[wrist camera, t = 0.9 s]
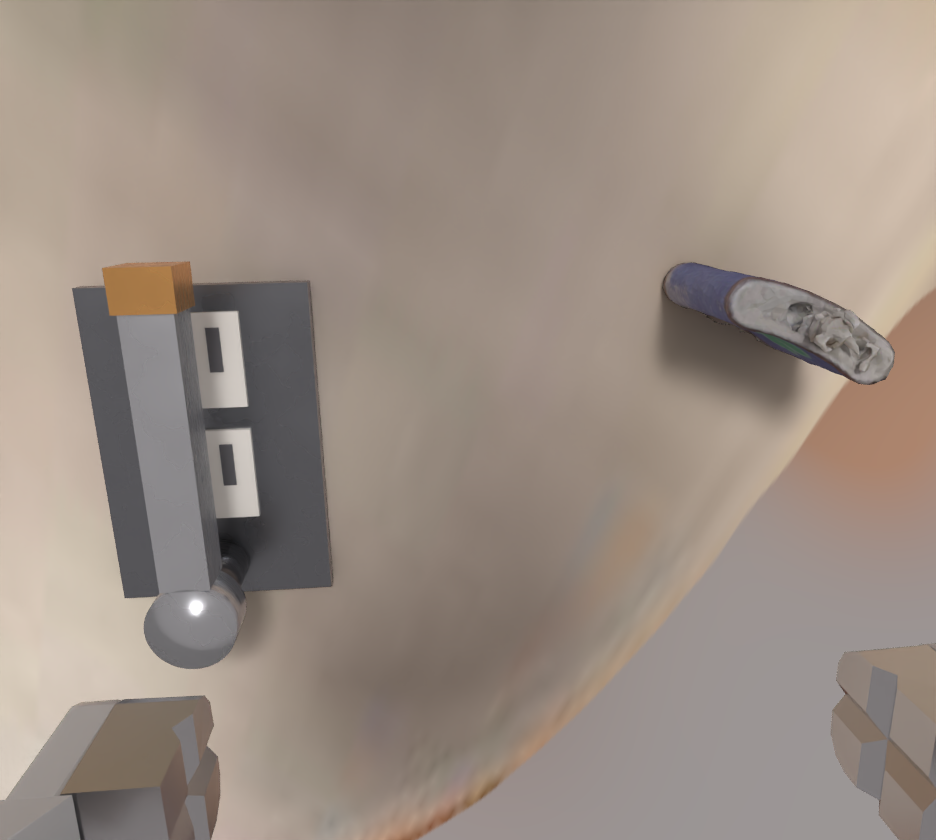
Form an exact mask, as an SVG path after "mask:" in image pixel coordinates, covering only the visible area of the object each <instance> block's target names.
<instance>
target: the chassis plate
mask: <svg viewBox="0 0 936 840" xmlns="http://www.w3.org/2000/svg"><path fill="white" fill-rule="evenodd" d="M72 290H73V296H74V302H75V308H76V314H77V320H78V326H79V331H80V337H81V343H82V349H83V355H84V361H85V367H86V373H87V379H88V384H89V390H90V396H91V402H92V408H93V414H94V420H95V426H96V431H97V437H98V443H99V449H100V455H101V461H102V467H103V473H104V478H105V484H106V490H107V496H108V502H109V508H110V514H111V520H112V525H113V531H114V537H115V543H116V549H117V555H118V561H119V567H120V573H121V578H122V584H123V590H124V596H125V598H136V597H153V596H158V595H159V588H158V581H157V575H156V568H155V562H154V555H153V549H152V542H151V536H150V530H149V523H148V517H147V510H146V504H145V497H144V491H143V484H142V478H141V471H140V465H139V458H138V452H137V445H136V439H135V433H134V426H133V420H132V413H131V407H130V400H129V394H128V387H127V381H126V374H125V368H124V361H123V355H122V349H121V342H120V336H119V329H118V323H117V316H110V315H109V308H108V302H107V296H106V289H105V286H81V287H76V288H72ZM193 292H194V300H195V306H193V307H191V308H190V312H217V311H239V319H240V328H241V337H242V347H243V356H244V365H245V375H246V384H247V393H248V403H249V406H248V407H228V408H202V409H203V417H204V425H205V430H211V429H236V428H251V431H252V440H253V449H254V459H255V468H256V478H257V487H258V496H259V506H260V516H253V517H233V518H216V520H217V528H218V536H219V540H230V541H233V542H236V543H238V544H239V545H241V546H242V547H243V548H244V549H245V550H246V552H247V553H248V556H249V559H250V566H249V569H248V572H247V574H246V576H245V579H244V581H243V583H242V586H241V588H242V590H243V591H259V590H277V589H294V588H312V587H329V586H331V585H332V580H333V574H332V561H331V548H330V535H329V523H328V510H327V497H326V485H325V472H324V459H323V446H322V434H321V421H320V408H319V395H318V383H317V370H316V357H315V345H314V332H313V319H312V306H311V294H310V281H274V282H235V283H196V284H193Z"/></svg>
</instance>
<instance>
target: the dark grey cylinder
mask: <svg viewBox="0 0 936 840" xmlns="http://www.w3.org/2000/svg"><path fill="white" fill-rule="evenodd" d="M219 544H220V552H221V560H222V569H221V571H223V572H225V573H227V574H228V575H230V576H231V577H232V578H233V579H235V580H236V582H237V583H238V584H239V585H240V587H241V586H242V583H243V581H244V579H245V576H246V574H247V572H248V569H249V566H250V559H249V556H248V553H247V552H246V550H245V549H244V548H243V547H242V546H241V545H239V544H238V543H236V542H233V541H230V540H219Z"/></svg>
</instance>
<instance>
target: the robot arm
mask: <svg viewBox="0 0 936 840" xmlns="http://www.w3.org/2000/svg"><path fill="white" fill-rule="evenodd" d="M836 681H837V682H838V684H839V685H840V687H841V688H842V690H843V691H844V692H845V695H844V697H843V698H842V699H841V700H840V702H839V703H838V704H837V705H836V706H835V708H834V709H833V710H832V723H831V736H832V741H833V745H834V749H835V754H836V757H837V759H838V760H839V763H840V765H841V767H842V769H843V770H844V772H845V774H846V775H847V776H848V777H849V779H850V780H851V781H852V783H853V784H854V785H855V786H856V787H857V788H859V789H861V790H862V791H864V792H866V793H868V794H869V795H871V796H873V797H875V798H877V799H878V800H879V816H880V817H881V818H882V819H883V821H884V822H885V823H886V824H887V826H888V827H889V828H890V830H891V831H892V832H893V833H894V834H895V836H896V837H897V838H898V839H899V840H936V643H932V644H922V645H918V646H909V647H897V648H886V649H874V650H863V651H851V652H844V654H843V656H842V658H841V659H840V661H839V663H838V671H837V677H836ZM213 727H214V723H213V717H212V711H211V705H210V702H209V700H208V699H207V698H206V697H205V696H186V697H166V698H145V699H125V700H122V701H121V700H107V701H94V702H81V703H79V704H77V705H75V706H72V707H71V709H70V710H69V711H68V712H67V714H66V715H65V717H64V718H63V719H62V721H61V722H60V724H59V725H58V727H57V728H56V729H55V731H54V732H53V734H52V735H51V736H50V738H49V739H48V741H47V742H46V743H45V745H44V746H43V748H42V749H41V750H40V752H39V753H38V755H37V756H36V757H35V759H34V760H33V762H32V763H31V765H30V766H29V767H28V769H27V770H26V772H25V773H24V774H23V776H22V777H21V779H20V780H19V781H18V783H17V784H16V786H15V787H14V788H13V790H12V791H11V793H10V794H9V795H8V797H7V798H6V800H0V840H211V838H212V834H213V831H214V828H215V824H216V821H217V814H218V807H219V800H220V770H219V761H218V756H217V755H216V754H215V753H214V752H213V751H212V750H211V749H210V748H208V747H207V746H206V745H207V743H208V740H209V737H210V735H211V732H212V729H213Z"/></svg>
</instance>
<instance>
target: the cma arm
mask: <svg viewBox="0 0 936 840" xmlns="http://www.w3.org/2000/svg"><path fill="white" fill-rule="evenodd" d="M102 270H103V277H104V283H105V289H106V296H107V302H108V308H109V315H110V316H117V323H118V329H119V336H120V342H121V349H122V355H123V361H124V368H125V374H126V381H127V387H128V394H129V400H130V407H131V413H132V420H133V426H134V433H135V439H136V445H137V452H138V458H139V465H140V471H141V478H142V484H143V491H144V497H145V504H146V510H147V517H148V523H149V530H150V536H151V542H152V549H153V555H154V562H155V568H156V575H157V581H158V588H159V595H158V596H157V598H156V599H155V601H154V603H153V604H152V606H151V607H150V609H149V611H148V612H147V615H146V617H145V621H144V634H145V638H146V641H147V643H148V645H149V646H150V648H151V649H152V651H153V652H154V653H155V654H156V655H157V656H158V657H159V658H161V659H162V660H164V661H165V662H167V663H169V664H171V665H174V666H177V667H180V668H186V669H199V668H204V667H208V666H211V665H213V664H215V663H217V662H219V661H220V660H222V659H223V658H224V657H225V656H226V655H227V654H228V653H229V652H230V650H231V649H232V647H233V645H234V643H235V640H236V638H237V635H238V632H239V630H240V627H241V625H242V622H243V620H244V617H245V614H246V608H247V605H246V597H245V595H244V592H243V590H242V588H241V587H240V585H239V584H238V583H237V582H236V580H235V579H233V578H232V577H231V576H230V575H228V574H227V573H225V572H223V571H221V569H222V560H221V552H220V544H219V536H218V528H217V520H216V512H215V504H214V496H213V489H212V481H211V473H210V465H209V457H208V449H207V441H206V433H205V425H204V417H203V409H202V401H201V393H200V385H199V377H198V369H197V361H196V353H195V345H194V338H193V330H192V322H191V314H190V308H191V307H193V306H195V300H194V292H193V284H192V276H191V268H190V262H155V263H125V264H120V265H115V266H110V267H105V268H102Z"/></svg>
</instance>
